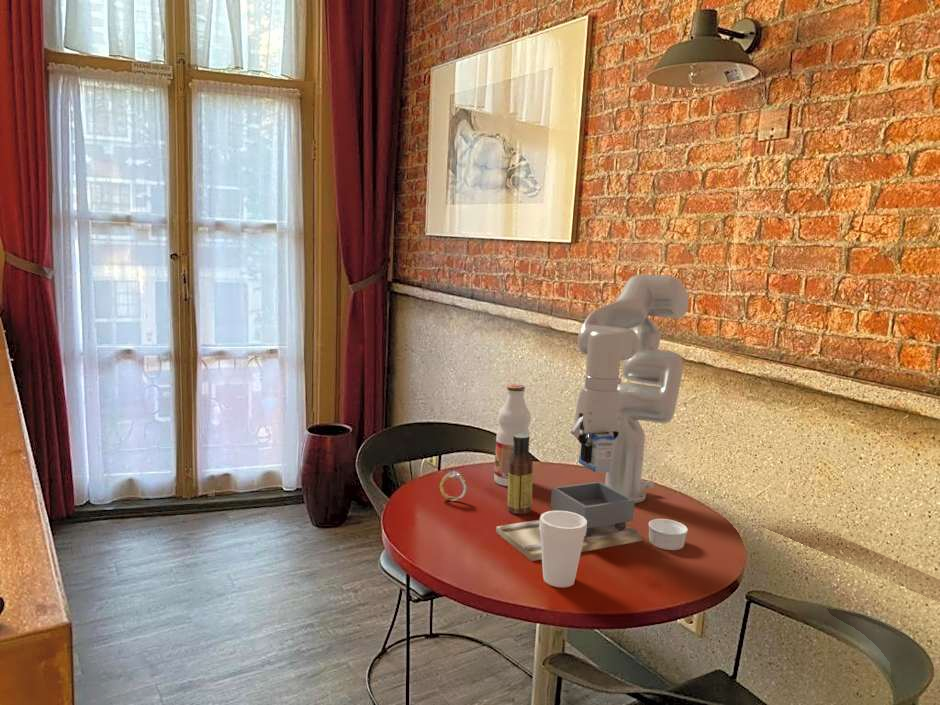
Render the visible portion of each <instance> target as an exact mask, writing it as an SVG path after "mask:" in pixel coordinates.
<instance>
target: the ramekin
mask: <svg viewBox="0 0 940 705" xmlns="http://www.w3.org/2000/svg"><path fill="white" fill-rule="evenodd" d="M688 532H689V529H688V527H687V526H686V525H685V524H683V523H681V522H680V521H679V522H678V521H676V520H673V519H668V518H667V519H666V518H654V519H651V520H650V521H649V522H648V539H649V543H650V544H651V545H653V546H654V547H656V548H658V549H662V550H666V551H667V550H668V551H677V550H682V548H684V546H685V542H686V537H687V534H688Z"/></svg>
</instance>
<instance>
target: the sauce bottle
mask: <svg viewBox="0 0 940 705" xmlns="http://www.w3.org/2000/svg"><path fill="white" fill-rule="evenodd" d="M513 441H514V449H513V454H512V455H511V457H510V459H509V470H508V486H507V509H508V511H509V512H510V513H512V514H515V515H516V514H517V515H528V514H530V513H531V512H532V505H533V479H534V477H533V476H534V474H533V459H532V457H531V454H530V449H529V450H528V444H529V445H530V442H529V435H526V434H515V435H514V436H513Z"/></svg>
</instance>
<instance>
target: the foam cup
mask: <svg viewBox="0 0 940 705" xmlns="http://www.w3.org/2000/svg"><path fill="white" fill-rule="evenodd" d="M539 520H540V523H539V529H540V536H541V551H542V559H541V563H542V564H541V565H542V577H543V578H542V579H543V581H544V582H545V583H547V585H548V586H552V587H556V588H568V587H572V586H573V585H574V584H575V580H576V578H577V573H578V566H579V562H580V557H581V555H582V554H581V553H582V552H581V549H582V545H583V540H584V536H585V535H586V529H587V520H586V519H585V518H584V517H583V516H581V515H579V514H577V513H573V512H568V511H557V510H556V511H555V510H549V511H545V512H543V513H541V515H540V517H539Z"/></svg>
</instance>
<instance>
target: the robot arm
mask: <svg viewBox="0 0 940 705" xmlns="http://www.w3.org/2000/svg"><path fill="white" fill-rule="evenodd" d="M689 301H690V299H689V294H688V291H687V289H686V287H685V286H684V285H683V283H682V282H681V281H680V280H679V279H678V278H677V277H674V276H671V275H659V274H645V273H644V274H643V273H642V274H636V275H633V276H630V278H629V279H628V280H627V281H626V283H625V285H624V286H623V288H622V289H621V292H620V293H619V296H618V297H617V299H616V300H615V301H613V302H610V303H608V304H606V305H604V306H601V307H598V308H596V309H595V310H593V311H592V312H590V313H589V315H588V316H587V317H586V319H585V320H584V322H583V324H582V325H581V327H580V329H579V332H578V335H577V343H576V344H577V347H578V350H579V351H580V353H581V354H583V355H585V356H586V368H585V377H584V378H585V380H584V388H581V390H580V393H579V396H578V400H577V405H576V412H575V419H574V425H573V427H571V430H570V434H572V435H573V436H574V437H575V438H576V439H577V441H578V442H579V444H580V443H581V460H583V461H585V462H587V463H590V462H591V456H592V446H590V444H591V440H592V437H593V434H596V433H608V434H610V435H612V436H614V448H613V459H612V469H611V472H605V482H604V484H605V485H607V486H609V487H611V488H613V489H614V490H616V491H618V492H620V493H622V494H624V495H626V496H628V497H630V498H631V499H633V500H635V504H640V503H642V502H643V501H645V500H646V496H647V495H646V493H645V491H644V490H645V489H649V488H653V487H654V486H655V482H654V481H653V480H646V481H645V480H644V478H642V474H643V473H642V472H643V463H644V454H645V452H644V451H645V443H646V442H645V441H646V435H645V431H644V429H643V427H642V425H641V423H640V422H639V421H644V422H651V423H658V424H668V423H670V422H671V421H672V420H673V418H674V416H675V412H676V408H677V403H678V402H677V401H678V397H679V393H680V387H681V384H682V383H681V382H682V377H683V370H684V369H683V367H684V366H683V365H684V364H683V358H682V356H680V354H678V353H677V352H675V351H671V350H663V349H659V348H660V343H661V337H662V336H661V332H660V331H659V328H658V327H657V326H656V324H655V323H654V322H653V321H652V320H651V318H650V317H658V318H669V319H680V318H682V317H684V316H685V315H686V314H687V311H688V309H689V304H690V303H689ZM621 361H623V362H622V367H621ZM620 367H621V368H622V369H620ZM620 370H621V372H622V375H623V377H624V378H625V379H626V380H628V381H631V382H622V378H620ZM633 382H634V383H633ZM648 384H649V385H648ZM655 385H657V386H655ZM580 431H581V432H582V433H581V432H580ZM586 436H587V438H586Z"/></svg>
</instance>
